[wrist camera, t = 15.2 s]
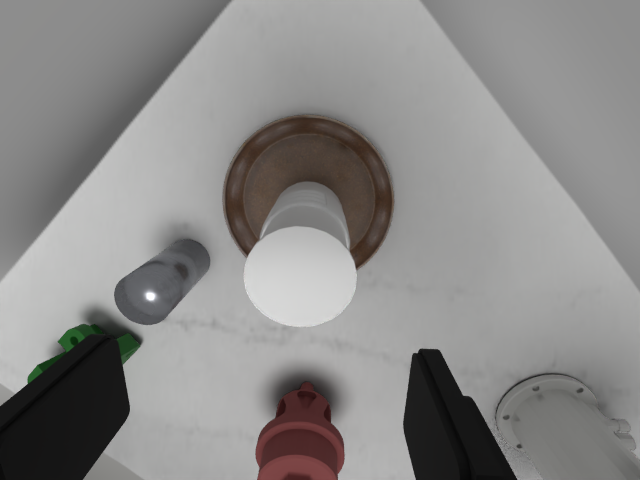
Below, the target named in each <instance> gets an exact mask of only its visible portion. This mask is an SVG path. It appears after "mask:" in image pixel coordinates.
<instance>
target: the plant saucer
mask: <svg viewBox="0 0 640 480" xmlns="http://www.w3.org/2000/svg"><path fill="white" fill-rule="evenodd" d="M300 182H316V183H319V184H322V185H325V186H326V187H327V188H329V189H330V190H332V191H333V192H334V193H335V195H336V196H337V197H338V199H339V201H340V203H341V205H342V209H343V213H344V215H345V219H346V224H347V228H348V232H349V238H350V248H349V251H350V253H351V255H352V257H353V259H354V262H355V268H356V271H357V270H358V269H360V268H361V267H362V266H363V265H365V264H366V263H367V262H368V261H369V260H370V259H371V258H372V257H373V256H374V255H375V253H376V252H377V251H378V250H379V248H380V247H381V245H382V243H383V242H384V240H385V238H386V236H387V233H388V231H389V228H390V225H391V221H392V217H393V210H394V192H393V185H392V180H391V177H390V174H389V171H388V168H387V166H386V164H385V162H384V160H383V158H382V157H381V155H380V153H379V152H378V151H377V149H376V148H375V147H374V146H373V144H372V143H371V142H370V141H369V140H368V139H367V138H366V137H365V136H363V135H362V134H361V133H360V132H358V131H357V130H355V129H354V128H352V127H350V126H348V125H346V124H345V123H343V122H340V121H338V120H335V119H332V118H328V117H324V116H318V115H297V116H291V117H286V118H282V119H280V120H277V121H274V122H272V123H270V124H268V125H266V126H264V127H262V128H261V129H259V130H258V131H256V132H255V133H254V134H253V135H251V136H250V137H249V138H248V139H247V140H246V141H245V142H244V143H243V145H242V146H241V147H240V148H239V150H238V151H237V153H236V154H235V156H234V157H233V159H232V161H231V163H230V166H229V168H228V171H227V173H226V177H225V181H224V186H223V211H224V216H225V220H226V224H227V227H228V230H229V232H230V234H231V236H232V238H233V240H234V242H235V244H236V245H237V247H238V248H239V250H240V251H241V252H242V253H243V255H244V256H245V257H246V258H247V257H248V255H249V253H250V252H251V250H252V249H253V247H254V246H255V244H256V242H258V241H259V240H260V233H261V230H262V227H263V224H264V222H265V220H266V218H267V217H268V215H269V213H270V211H271V209H272V208H273V206H274V205H275V203H276V201H277V199H278V197H279V196H280V194H281V193H282V192H283V191H284V190H286V189H287V188H288V187H290V186H292V185H294V184H296V183H300Z"/></svg>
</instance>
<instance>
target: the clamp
mask: <svg viewBox="0 0 640 480" xmlns="http://www.w3.org/2000/svg"><path fill="white" fill-rule="evenodd" d="M90 334H104V333H103V332H102V331H101V330H100V329H99V328H98V326H96V325H95V324H93V325H91V326H89V325H86V324H81V325H79V326H77V327H74V328H72V329H69V330H68V331H67V332H66V333H65V334H64V335H63V336H62V337H61V339H60V340H59V341H58V343H60V344H61V345H62V346H63V348H64V349H65V350H66V352H64V353H61V354H59V355H57V356H55V357H53V358H51V359H49V360H47V361H45V362H43V363H41V364H39V365H37V366H36V368H35V369H34V370H33V371H32V372H31V373H30V375H29V376H28V384H29V383H30V382H31V381H32V380H34V379H35V378H36V377H37V376H38V375H40V374H41V373H42V372H43V371H45V370H46V369H47V368H48V367H50V366H51V365H52V364H53V363H55V362H56V361H57V360H58V359H60V358H61V357H62V356H63V355H64V354H66V353H67V352H68V351H69V350H71V349H72V348H73V347H74V346H76V345H77V344H78V343H79V342H81V341H82V340H83V339H84V338H85V337H87V336H88V335H90ZM116 340H117V341H118V343H119V348H120V354H121V359H122V365H123V364H124V363H125V362H126V361H127V360H128V359H129V358H130V357H131V356H132V355H133V354H134V353H135V351H136V350H137V349H138V348H139V347H140V345H139V344H138V342H137V341H136V340H135V339H134V338H133V337H132V336H131V335H130V334H129V333H127V334H125V335H123V336H121V337H120V338H118V339H116Z"/></svg>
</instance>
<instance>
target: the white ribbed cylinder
mask: <svg viewBox="0 0 640 480" xmlns="http://www.w3.org/2000/svg"><path fill="white" fill-rule="evenodd" d="M349 248H350V238H349V232H348V228H347V224H346V219H345V215H344V213H343V209H342V205H341V203H340V201H339V199H338V197H337V196H336V195H335V193H334V192H333V191H332V190H330V189H329V188H327V187H326V186H325V185H322V184H319V183H316V182H300V183H296V184H294V185H292V186H290V187H288V188H287V189H286V190H284V191H283V192H282V193H281V194H280V196H279V197H278V199H277V201H276V203H275V205H274V206H273V208H272V209H271V211H270V213H269V215H268V217H267V218H266V220H265V222H264V224H263V227H262V230H261V233H260V240H259V241H258V242H256V244H255V246H254V247H253V249H252V250H251V252H250V253H249V255H248V257H247V261H246V264H245V267H244V284H245V287H246V291H247V294H248V296H249V298H250V299H251V301H252V302H253V304H254V305H255V307H256V308H257V309H258V310H259V311H261V312H262V313H263V314H264V315H265V316H267V317H268V318H270V319H272V320H274V321H276V322H277V323H281V324H284V325H288V326H293V327H309V326H316V325H320V324H322V323H325V322H327V321H330V320H332V319H333V318H334V317H336V316H337V315H338V314H340V313H341V312H342V311H343V310H344V309H345V308H346V306H347V305H348V304H349V303H350V301H351V299H352V297H353V294H354V292H355V290H356V282H357V273H356V268H355V262H354V259H353V257H352V255H351V253H350V251H349Z"/></svg>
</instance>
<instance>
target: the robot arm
mask: <svg viewBox="0 0 640 480" xmlns="http://www.w3.org/2000/svg"><path fill="white" fill-rule="evenodd" d="M129 412H130V405H129V399H128V393H127V388H126V382H125V376H124V371H123V365H122V359H121V354H120V348H119V343H118V341H117V340H115V339H114V337H113V336H112V335H109V334H90V335H88V336H87V337H85V338H84V339H83V340H82V341H81V342H79V343H78V344H77V345H76V346H74V347H73V348H72V349H71V350H69V351H68V352H67V353H66V354H64V355H63V356H62V357H61V358H60V359H58V360H57V361H56V362H55V363H53V364H52V365H51V366H50V367H48V368H47V369H46V370H45V371H43V372H42V373H41V374H40V375H38V376H37V377H36V378H35V379H34V380H32V381H31V382H30V383H29V384H27V385H26V386H25V387H24V388H22V389H21V390H20V391H19V392H17V393H16V394H15V395H14V396H13V397H11V398H10V399H9V400H8V401H6V402H5V403H4V404H3V405H1V406H0V480H83V479H84V477H85V476H86V474H87V473H88V472H89V470H90V469H91V468H92V466H93V465H94V463H95V462H96V461H97V459H98V458H99V457H100V455H101V454H102V453H103V451H104V450H105V448H106V447H107V446H108V444H109V443H110V442H111V440H112V439H113V437H114V436H115V435H116V433H117V432H118V431H119V429H120V428H121V426H122V425H123V424H124V422H125V421H126V419H127V417H128V415H129ZM496 423H497V428H498V430H499V432H500V434H501V435H502V437H503V438H504V440H505V441H506V442H507V443H508V444H509V445H510V446H511V447H513V448H514V449H516V450H518V451H521V452H523V453H527V455H528V457H529V458H530V460H531V461H532V463H533V464H534V466H535V468H536V469H537V471H538V472H539V474H540V476H541V477H542V479H543V480H640V460H639V459H638V458H637V457H636V455H635V454H634V453H633V452H632V451H631V450H635V448H636V443H635V440H634V439H633V437H632V436H631V435H630V434H628V433H620V432H615V431H622V432H629V431H630V425H629V423H628V422H627V421H626V420H625V419H608V418H606V417H605V416H604V415H603V414H602V413H601V412H600V411H599V407H598V402H597V400H596V397H595V396H594V394H593V393H592V392H591V391H590V390H589V389H588V388H587V387H586V386H585V385H584V384H583V383H581V382H580V381H578V380H576V379H574V378H571V377H568V376H564V375H543V376H538V377H534V378H531V379H529V380H526V381H524V382H522V383H520V384H519V385H517V386H515V387H514V388H513V389H512V390H511V391H509V392H508V393H507V395H506V396H505V397H504V398H503V399H502V401H501V403H500V405H499V407H498V410H497V413H496ZM403 426H404V434H405V438H406V442H407V446H408V450H409V454H410V458H411V462H412V466H413V470H414V474H415V478H416V480H517V478H516V476H515V475H514V473H513V471H512V469H511V467H510V465H509V464H508V462H507V460H506V458H505V456H504V454H503V453H502V451H501V449H500V447H499V445H498V444H497V442H496V440H495V438H494V436H493V434H492V433H491V431H490V429H489V427H488V425H487V424H486V422H485V420H484V418H483V416H482V414H481V413H480V411H479V409H478V407H477V405H476V403H475V402H474V400H473V399H472V398H471V397H469V396H463V395H462V393H461V391H460V389H459V387H458V385H457V383H456V381H455V379H454V377H453V375H452V373H451V371H450V369H449V368H448V366H447V364H446V362H445V360H444V358H443V356H442V354H441V352H440V351H439V350H438V349H419V351H418V353H414V354H413V355H412V362H411V369H410V376H409V384H408V391H407V399H406V406H405V413H404V421H403Z"/></svg>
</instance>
